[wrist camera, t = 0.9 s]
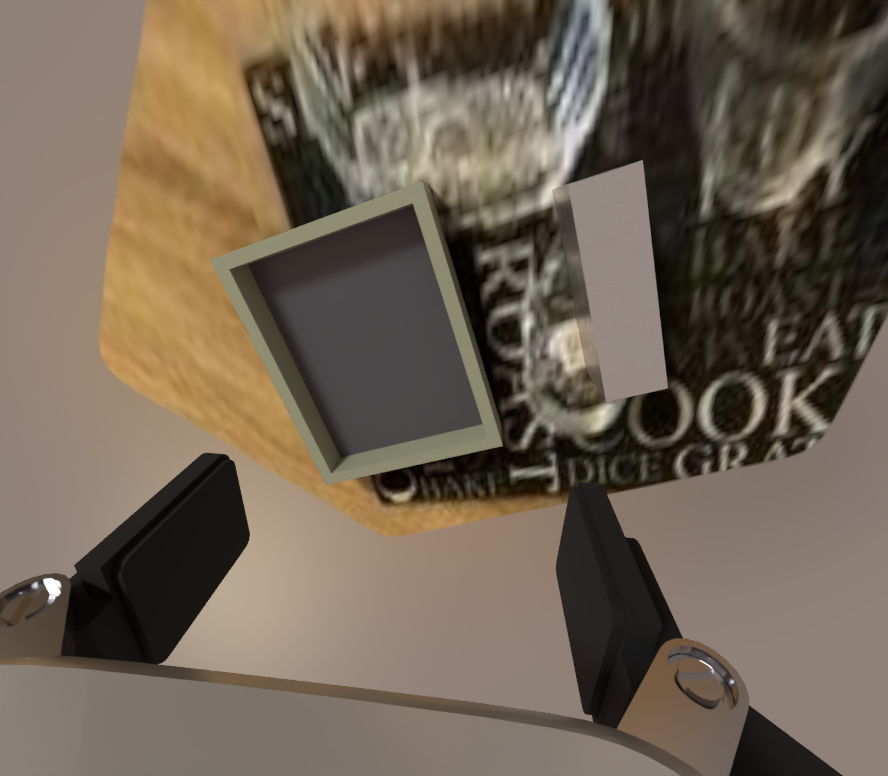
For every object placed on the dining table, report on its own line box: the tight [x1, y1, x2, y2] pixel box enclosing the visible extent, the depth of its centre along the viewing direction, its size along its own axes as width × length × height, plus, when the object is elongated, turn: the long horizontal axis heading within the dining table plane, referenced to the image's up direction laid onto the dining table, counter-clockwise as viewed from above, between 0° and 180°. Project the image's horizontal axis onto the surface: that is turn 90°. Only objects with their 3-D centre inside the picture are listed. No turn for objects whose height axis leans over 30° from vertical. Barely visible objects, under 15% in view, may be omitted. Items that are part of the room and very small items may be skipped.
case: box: [211, 181, 503, 485], centre depth 32 cm, size 16×20×4 cm
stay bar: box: [552, 160, 668, 402], centre depth 28 cm, size 4×14×6 cm, turn 17°
